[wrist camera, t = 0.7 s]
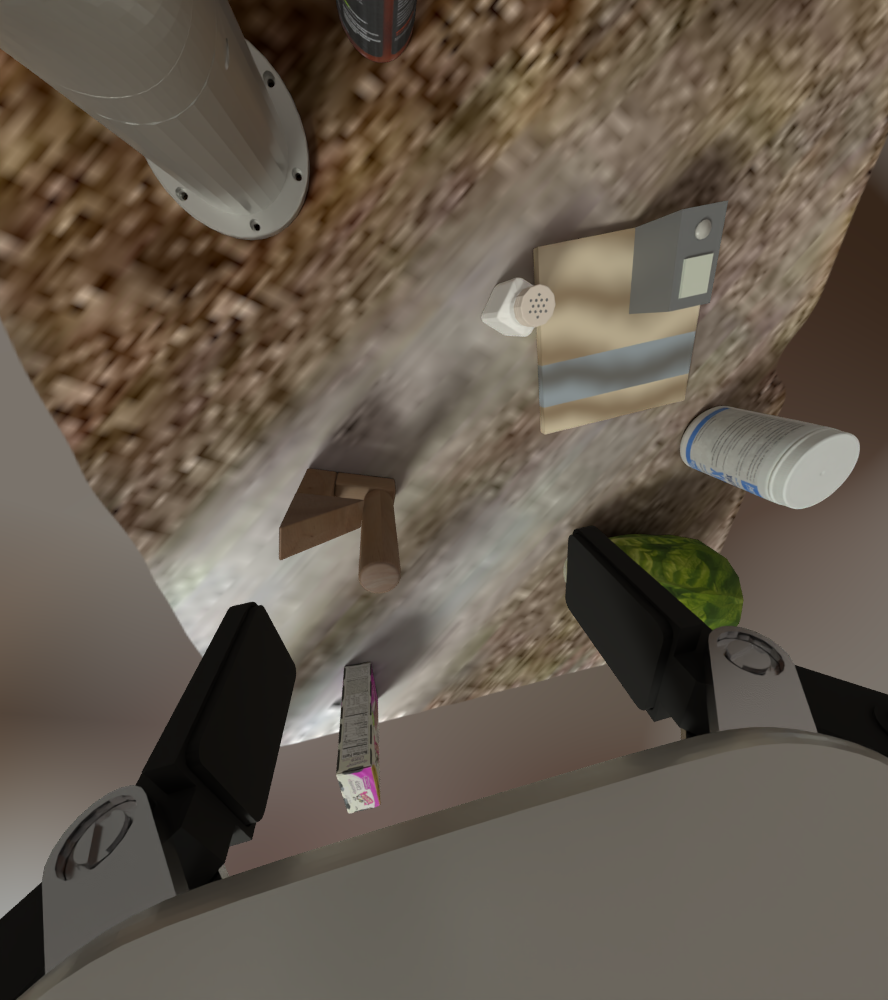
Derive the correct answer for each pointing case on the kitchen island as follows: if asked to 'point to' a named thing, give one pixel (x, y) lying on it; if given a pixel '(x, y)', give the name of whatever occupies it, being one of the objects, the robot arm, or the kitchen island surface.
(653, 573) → the lettuce
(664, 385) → the plywood panel
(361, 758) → the candy bar box
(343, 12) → the supplement bottle
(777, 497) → the supplement tub
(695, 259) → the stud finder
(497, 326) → the pepper shaker
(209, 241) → the kitchen island surface
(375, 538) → the wooden letter
